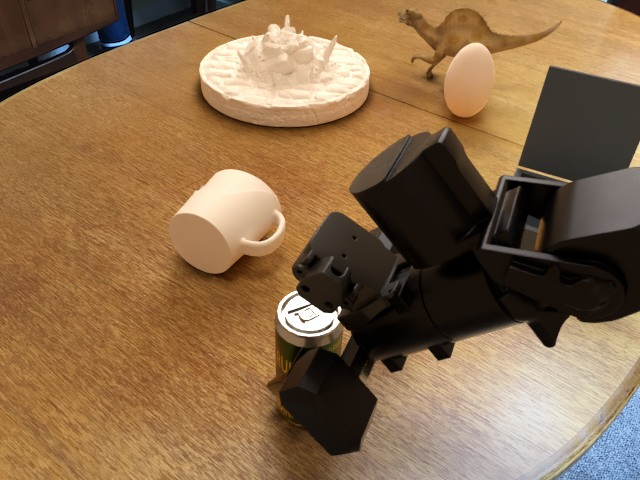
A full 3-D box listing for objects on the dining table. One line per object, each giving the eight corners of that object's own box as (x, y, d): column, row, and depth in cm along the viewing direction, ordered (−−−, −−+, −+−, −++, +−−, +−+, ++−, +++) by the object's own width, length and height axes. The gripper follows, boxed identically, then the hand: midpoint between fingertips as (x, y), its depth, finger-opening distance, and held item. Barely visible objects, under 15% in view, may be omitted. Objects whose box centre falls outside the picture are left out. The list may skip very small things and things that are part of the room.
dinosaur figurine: (391, 66, 108) (400, -10, 100) (541, 89, 103) (565, 11, 95) (383, 84, 102) (392, 5, 94) (541, 109, 97) (566, 28, 89)
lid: (661, 91, 63) (661, 89, 63) (549, 66, 66) (550, 64, 67) (617, 194, 69) (617, 192, 69) (517, 165, 73) (518, 163, 73)
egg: (433, 120, 93) (446, 47, 86) (444, 100, 99) (458, 30, 91) (480, 131, 91) (498, 57, 84) (489, 110, 97) (507, 39, 89)
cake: (182, 120, 90) (174, 60, 84) (220, 47, 112) (216, -6, 105) (366, 134, 89) (372, 74, 83) (369, 57, 111) (374, 5, 104)
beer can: (314, 369, 56) (318, 277, 48) (348, 410, 53) (359, 319, 45) (264, 396, 54) (261, 304, 46) (297, 441, 50) (299, 350, 43)
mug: (167, 258, 67) (157, 201, 62) (213, 213, 74) (207, 158, 68) (260, 293, 63) (257, 236, 58) (300, 242, 70) (301, 187, 65)
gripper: (414, 136, 44) (279, 215, 54) (313, 306, 30) (159, 368, 41) (497, 247, 47) (354, 302, 57) (439, 447, 33) (265, 471, 43)
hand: (292, 350), depth 49 cm, fingers open, 8 cm apart
